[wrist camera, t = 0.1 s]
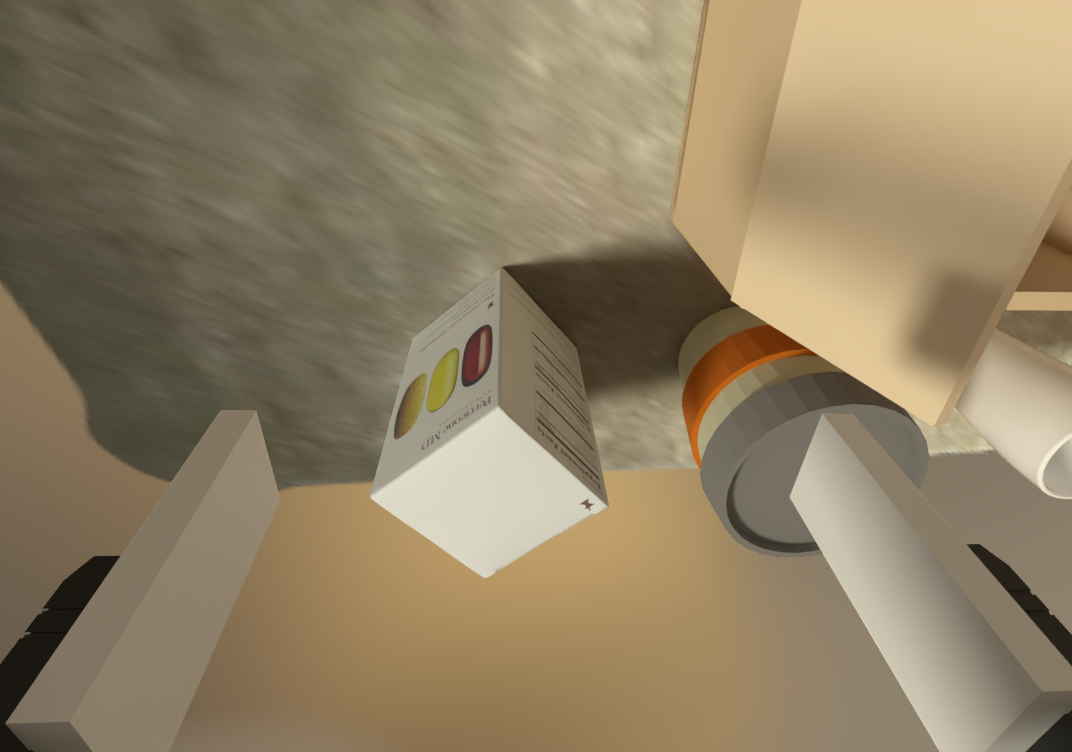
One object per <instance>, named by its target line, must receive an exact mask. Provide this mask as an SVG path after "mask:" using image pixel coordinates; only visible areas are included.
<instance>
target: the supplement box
mask: <svg viewBox="0 0 1072 752" xmlns="http://www.w3.org/2000/svg"><path fill="white" fill-rule="evenodd" d="M370 497H371V499H372V500H374V501H375V502H377V503H378V504H379V505H380V506H382V507H383V508H384V509H386V510H388V511H389V512H390V513H391V514H393V515H394V516H395V517H397V518H399V519H400V520H401V521H403V522H404V523H406V524H407V525H409V526H410V527H412V528H413V529H415V530H416V531H418V532H419V533H420V534H422V535H423V536H425V537H426V538H428V539H429V540H430V541H432V542H433V543H435V544H436V545H438V546H439V547H440V548H442V549H443V550H445V551H446V552H447V553H449V554H450V555H452V556H453V557H454V558H456V559H457V560H459V561H460V562H462V563H463V564H464V565H466V566H467V567H469V568H470V569H472V570H473V571H475V572H476V573H478V574H479V575H481V576H482V577H484V578H488V577H489V576H491V575H492V574H494V573H496V572H497V571H498V570H500V569H502V568H504V567H505V566H507V565H508V564H510V563H512V562H513V561H515V560H517V559H518V558H520V557H521V556H523V555H524V554H526V553H528V552H530V551H531V550H533V549H535V548H536V547H538V546H540V545H541V544H543V543H545V542H546V541H548V540H549V539H551V538H553V537H555V536H556V535H558V534H560V533H562V532H563V531H565V530H567V529H569V528H571V527H572V526H574V525H576V524H578V523H580V522H581V521H583V520H585V519H587V518H589V517H590V516H592V515H594V514H596V513H598V512H600V511H602V510H604V509H606V508H607V507H608V499H607V494H606V489H605V485H604V479H603V474H602V470H601V465H600V460H599V455H598V450H597V445H596V440H595V435H594V430H593V426H592V421H591V416H590V411H589V406H588V401H587V396H586V392H585V387H584V382H583V377H582V372H581V367H580V362H579V357H578V352H577V348H576V347H575V346H574V344H573V343H572V342H571V341H570V340H569V339H568V338H567V337H566V336H565V335H564V333H563V332H562V331H561V330H560V329H559V328H558V327H557V326H556V325H555V324H554V323H553V322H552V320H551V319H550V318H549V317H548V316H547V315H546V314H545V313H544V312H543V311H542V310H541V309H540V307H539V306H538V305H537V304H536V303H535V302H534V301H533V300H532V299H531V298H530V296H529V295H528V294H527V293H526V292H525V291H524V290H523V289H522V288H521V287H520V285H519V284H518V283H517V282H516V281H515V280H514V279H513V278H512V277H511V276H510V275H509V274H508V273H507V271H506V270H505V269H503V268H501V269H499V270H498V271H497V272H495V273H494V274H493V275H492V276H490V277H489V278H488V279H487V280H485V281H484V282H483V283H481V284H480V285H479V286H478V287H476V288H475V289H474V290H473V291H471V292H470V293H469V294H468V295H466V296H465V297H464V298H463V299H461V300H460V301H459V302H458V303H456V304H455V305H454V306H453V307H451V308H450V309H449V310H447V311H446V312H445V313H444V314H442V315H441V316H440V317H439V318H437V319H436V320H435V321H434V322H432V323H431V324H430V325H429V326H427V327H426V328H425V329H424V330H422V331H421V332H420V333H419V334H418V335H416V336H415V337H414V338H413V340H412V343H411V347H410V351H409V354H408V358H407V361H406V365H405V369H404V373H403V376H402V380H401V384H400V387H399V391H398V394H397V399H396V402H395V406H394V409H393V413H392V417H391V420H390V424H389V428H388V432H387V435H386V439H385V443H384V447H383V450H382V454H381V457H380V461H379V465H378V468H377V472H376V475H375V479H374V483H373V486H372V490H371V493H370Z"/></svg>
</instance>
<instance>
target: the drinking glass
mask: <svg viewBox="0 0 1072 752" xmlns="http://www.w3.org/2000/svg"><path fill="white" fill-rule="evenodd" d="M955 408H956V409H957V410H958V411H959V412H960V413H961V414H962V415H963V417H964V418H965V419H966V420H967V421H968V422H969V423H970V424H971V425H972V426H973V427H974V429H975V430H976V431H977V432H978V433H979V434H980V435H981V436H982V437H983V438H984V439H985V440H986V441H987V443H988V444H989V445H990V446H991V447H992V448H993V449H994V450H995V451H996V452H998V453H999V454H1000V455H1001V456H1002V457H1003V458H1004V459H1005V460H1006V461H1007V462H1008V463H1009V464H1011V465H1012V466H1013V467H1014V468H1015V469H1016V470H1017V471H1019V472H1020V473H1021V474H1022V475H1023V476H1024V477H1026V478H1027V479H1028V480H1030V481H1031V482H1032V483H1033V484H1034V485H1036V486H1037V487H1038V488H1039V489H1041V490H1042V491H1043V492H1044V493H1046V494H1048V495H1050V496H1053V497H1056V498H1061V499H1072V366H1070V365H1068V364H1066V363H1064V362H1062V361H1060V360H1058V359H1056V358H1054V357H1052V356H1050V355H1048V354H1046V353H1044V352H1042V351H1040V350H1038V349H1036V348H1034V347H1032V346H1031V345H1029V344H1027V343H1025V342H1023V341H1021V340H1019V339H1017V338H1015V337H1013V336H1011V335H1009V334H1007V333H1005V332H1003V331H1001V330H999V329H997V328H996V329H995V331H994V333H993V335H992V337H991V339H990V340H989V342H988V344H987V346H986V348H985V350H984V352H983V354H982V356H981V358H980V359H979V361H978V363H977V365H976V367H975V369H974V371H973V373H972V375H971V377H970V378H969V380H968V382H967V384H966V386H965V388H964V390H963V392H962V394H961V396H960V397H959V399H958V401H957V403H956V405H955Z"/></svg>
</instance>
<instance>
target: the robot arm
mask: <svg viewBox="0 0 1072 752" xmlns="http://www.w3.org/2000/svg"><path fill="white" fill-rule="evenodd" d="M790 499H791V501H792V502H793V504H794V506H795V507H796V509H797V511H798V512H799V514H800V516H801V518H802V519H803V521H804V523H805V524H806V526H807V528H808V529H809V531H810V533H811V534H812V536H813V538H814V540H815V541H816V543H817V545H818V546H819V548H820V550H821V551H822V553H823V555H824V556H825V558H826V560H827V562H828V563H829V565H830V567H831V568H832V570H833V572H834V573H835V575H836V577H837V578H838V580H839V582H840V583H841V585H842V587H843V589H844V590H845V592H846V594H847V595H848V597H849V599H850V601H851V602H852V604H853V606H854V607H855V609H856V611H857V612H858V614H859V616H860V617H861V619H862V621H863V623H864V624H865V626H866V628H867V629H868V631H869V633H870V634H871V636H872V638H873V639H874V641H875V643H876V645H877V646H878V648H879V649H880V651H881V653H882V655H883V656H884V658H885V660H886V662H887V663H888V665H889V667H890V668H891V670H892V672H893V673H894V675H895V677H896V679H897V680H898V682H899V684H900V685H901V687H902V689H903V690H904V692H905V694H906V695H907V697H908V699H909V701H910V702H911V704H912V706H913V707H914V709H915V711H916V712H917V714H918V716H919V718H920V719H921V721H922V723H923V724H924V726H925V728H926V729H927V731H928V733H929V734H930V736H931V738H932V739H933V741H934V743H935V745H936V746H937V748H938V750H939V751H940V752H1072V635H1071V634H1070V632H1068V630H1067V629H1066V628H1065V627H1064V626H1063V625H1062V624H1061V623H1060V621H1059V620H1058V619H1057V618H1056V617H1055V616H1054V615H1050V614H1049V609H1048V608H1047V607H1046V606H1045V605H1044V604H1043V603H1042V602H1041V601H1040V599H1039V598H1038V597H1037V596H1036V595H1032V594H1031V592H1030V588H1029V587H1028V586H1027V585H1026V584H1025V583H1024V582H1023V581H1022V580H1021V579H1020V578H1019V576H1018V575H1017V574H1016V573H1015V572H1014V571H1013V570H1012V569H1011V568H1010V566H1009V565H1007V564H1006V563H1004V562H1003V561H1002V560H1000V559H999V558H998V557H996V556H995V555H993V554H992V553H991V552H989V551H988V550H987V549H985V548H984V547H983V546H981V545H980V544H965V542H964V541H963V540H962V539H961V538H960V537H959V535H958V534H957V533H956V532H955V531H954V530H953V529H952V527H951V526H950V525H949V524H948V523H947V522H946V520H945V519H944V518H943V517H942V516H941V515H940V513H939V512H938V511H937V510H936V509H935V508H934V507H933V505H931V503H930V502H929V501H928V500H927V498H926V497H925V496H924V495H923V494H922V493H921V492H920V490H919V489H918V488H917V487H916V486H915V485H914V483H913V482H912V481H911V480H910V479H909V478H908V477H907V475H906V474H905V473H904V472H903V471H902V470H901V468H900V467H899V466H898V465H897V464H896V463H895V462H894V460H893V459H892V458H891V457H890V456H889V455H888V453H887V452H886V451H885V450H884V449H883V448H882V447H881V445H880V444H879V443H878V442H877V441H876V440H875V438H874V437H873V436H872V435H871V434H870V433H869V432H868V430H867V429H866V428H865V427H864V426H863V425H862V423H861V422H860V421H859V420H858V419H857V418H856V416H855V415H854V414H853V413H822V415H821V418H820V420H819V423H818V425H817V428H816V430H815V433H814V435H813V438H812V441H811V443H810V446H809V448H808V451H807V453H806V456H805V458H804V461H803V464H802V466H801V469H800V471H799V474H798V476H797V479H796V481H795V484H794V487H793V489H792V492H791V494H790ZM279 502H280V497H279V493H278V489H277V486H276V482H275V478H274V474H273V471H272V467H271V463H270V460H269V456H268V452H267V448H266V445H265V441H264V437H263V434H262V430H261V426H260V422H259V419H258V415H257V411H256V410H221V411H220V412H219V413H218V415H217V416H216V418H215V419H214V421H213V422H212V424H211V425H210V427H209V428H208V429H207V431H206V432H205V434H204V435H203V437H202V438H201V440H200V441H199V443H198V444H197V445H196V447H195V448H194V450H193V451H192V453H191V454H190V456H189V457H188V459H187V460H186V461H185V463H184V464H183V466H182V467H181V469H180V470H179V472H178V473H177V475H176V476H175V477H174V479H173V480H172V482H171V483H170V485H169V486H168V488H167V489H166V491H165V492H164V493H163V495H162V497H161V498H160V499H159V501H158V502H157V504H156V505H155V507H154V508H153V509H152V511H151V512H150V514H149V515H148V517H147V518H146V520H145V521H144V523H143V524H142V525H141V527H140V529H139V530H138V531H137V533H136V534H135V536H134V537H133V539H132V540H131V541H130V543H129V545H128V546H127V547H126V549H125V550H124V552H123V553H122V555H121V556H94V557H93V558H91V559H90V560H89V561H88V562H86V563H85V564H84V565H83V566H81V567H80V568H79V569H78V570H76V571H75V572H74V573H73V574H71V575H70V576H69V577H68V578H66V579H65V580H64V581H63V582H62V584H61V585H60V586H59V588H58V589H57V590H56V591H55V593H54V594H53V595H52V597H51V598H50V599H49V601H48V602H47V603H46V605H45V606H44V607H43V609H42V610H43V611H42V614H38V615H37V617H36V618H35V619H34V620H33V622H32V623H31V625H30V626H29V627H28V629H27V630H26V631H25V636H24V638H20V639H19V640H18V642H17V643H16V645H15V646H14V647H13V648H12V650H11V651H10V652H9V654H8V655H7V656H6V658H5V659H4V660H3V661H2V663H1V664H0V752H169V750H170V748H171V745H172V743H173V741H174V739H175V737H176V734H177V732H178V730H179V728H180V725H181V723H182V721H183V718H184V716H185V714H186V712H187V709H188V707H189V705H190V703H191V700H192V698H193V696H194V694H195V691H196V689H197V687H198V685H199V682H200V680H201V678H202V676H203V673H204V671H205V669H206V666H207V664H208V662H209V660H210V658H211V655H212V653H213V651H214V648H215V646H216V644H217V642H218V639H219V637H220V635H221V633H222V630H223V628H224V626H225V624H226V621H227V619H228V617H229V615H230V612H231V610H232V608H233V606H234V603H235V601H236V599H237V597H238V594H239V592H240V590H241V587H242V585H243V583H244V581H245V578H246V576H247V574H248V572H249V569H250V567H251V565H252V563H253V560H254V558H255V556H256V553H257V551H258V549H259V547H260V544H261V542H262V540H263V538H264V535H265V533H266V531H267V529H268V527H269V524H270V522H271V520H272V517H273V515H274V513H275V510H276V508H277V506H278V504H279Z"/></svg>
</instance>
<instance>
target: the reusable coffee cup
mask: <svg viewBox="0 0 1072 752" xmlns="http://www.w3.org/2000/svg"><path fill="white" fill-rule="evenodd" d="M678 369H679V374H680V378H681V383H682V387H683V397H682V408H683V413H684V418H685V422H686V427H687V431H688V435H689V439H690V444H691V448H692V452H693V456H694V458H695V460H696V463H697V465H698V467H699V468H700V469H701V472H700V475H701V481H702V487H703V490H704V492H705V494H706V496H707V498H708V500H709V502H710V503H711V505H712V507H713V508H714V510H715V511H716V513H717V515H718V517H719V518H720V520H721V522H722V523H723V525H724V527H725V528H726V530H727V531H728V533H729V534H730V535H731V536H732V537H733V538H734V539H735V540H736V541H737V542H739V543H740V544H742V545H744V546H745V547H747V548H748V549H751V550H754V551H756V552H759V553H762V554H767V555H773V556H777V557H802V556H812V555H817V554H822V551H821V550H820V548H819V546H818V545H817V543H816V541H815V540H814V538H813V536H812V534H811V533H810V531H809V529H808V528H807V526H806V524H805V523H804V521H803V519H802V518H801V516H800V514H799V512H798V511H797V509H796V507H795V506H794V504H793V502H792V501H791V499H790V494H791V492H792V489H793V487H794V484H795V481H796V479H797V476H798V474H799V471H800V469H801V466H802V464H803V461H804V458H805V456H806V453H807V451H808V448H809V446H810V443H811V441H812V438H813V435H814V433H815V430H816V428H817V425H818V423H819V420H820V418H821V415H822V413H853V414H854V415H855V416H856V418H857V419H858V420H859V421H860V422H861V423H862V425H863V426H864V427H865V428H866V429H867V430H868V432H869V433H870V434H871V435H872V436H873V437H874V438H875V440H876V441H877V442H878V443H879V444H880V445H881V447H882V448H883V449H884V450H885V451H886V452H887V453H888V455H889V456H890V457H891V458H892V459H893V460H894V462H895V463H896V464H897V465H898V466H899V467H900V468H901V470H902V471H903V472H904V473H905V474H906V475H907V477H908V478H909V479H910V480H911V481H912V482H913V483H914V485H915V486H916V487H917V488H918V489H919V488H920V486H921V485H922V482H923V480H924V477H925V475H926V472H927V467H928V459H929V453H928V447H927V441H926V439H925V438H924V436H923V434H922V432H921V430H920V428H919V427H918V426H917V425H916V423H915V422H914V421H913V419H912V418H911V417H910V415H909V414H908V413H907V411H906V410H905V409H904V408H902V407H901V406H899V405H898V404H896V403H894V402H893V401H891V400H890V399H888V398H886V397H885V396H883V395H882V394H880V393H878V392H877V391H875V390H874V389H872V388H870V387H869V386H867V385H866V384H864V383H862V382H861V381H859V380H858V379H856V378H854V377H853V376H851V375H850V374H848V373H846V372H845V371H843V370H842V369H840V368H838V367H837V366H835V365H834V364H832V363H830V362H829V361H827V360H826V359H824V358H822V357H821V356H819V355H818V354H816V353H814V352H813V351H811V350H810V349H808V348H806V347H805V346H803V345H802V344H800V343H798V342H797V341H795V340H794V339H792V338H790V337H789V336H787V335H786V334H784V333H782V332H781V331H779V330H778V329H776V328H774V327H773V326H771V325H770V324H768V323H766V322H765V321H763V320H762V319H760V318H758V317H757V316H755V315H754V314H752V313H750V312H749V311H747V310H746V309H741V308H740V306H733V307H730V308H726V309H722V310H720V311H718V312H716V313H714V314H711V315H710V316H708V317H707V318H705V319H704V320H702V321H701V322H700V323H699V324H698V325H697V326H696V327H694V328H693V329H692V331H691V332H690V333H689V335H688V336H687V337H686V339H685V341H684V343H683V345H682V347H681V350H680V353H679V357H678Z"/></svg>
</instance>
